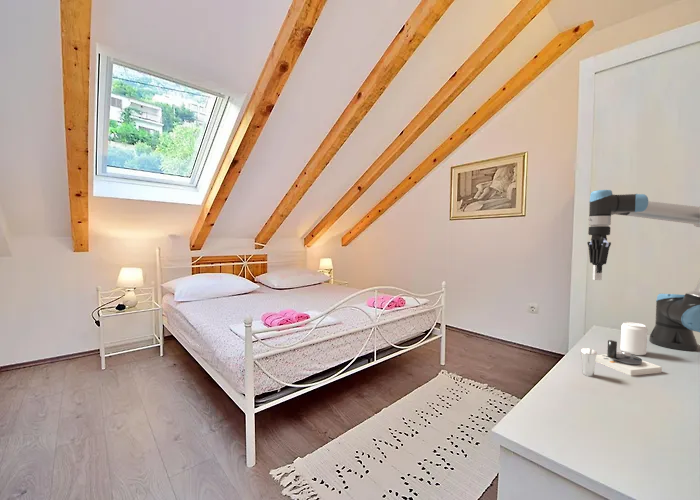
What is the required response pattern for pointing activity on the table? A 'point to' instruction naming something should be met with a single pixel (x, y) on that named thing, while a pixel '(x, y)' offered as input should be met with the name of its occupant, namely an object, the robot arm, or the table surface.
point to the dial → (621, 355)
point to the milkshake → (588, 361)
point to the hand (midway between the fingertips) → (597, 279)
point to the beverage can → (633, 338)
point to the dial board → (629, 366)
